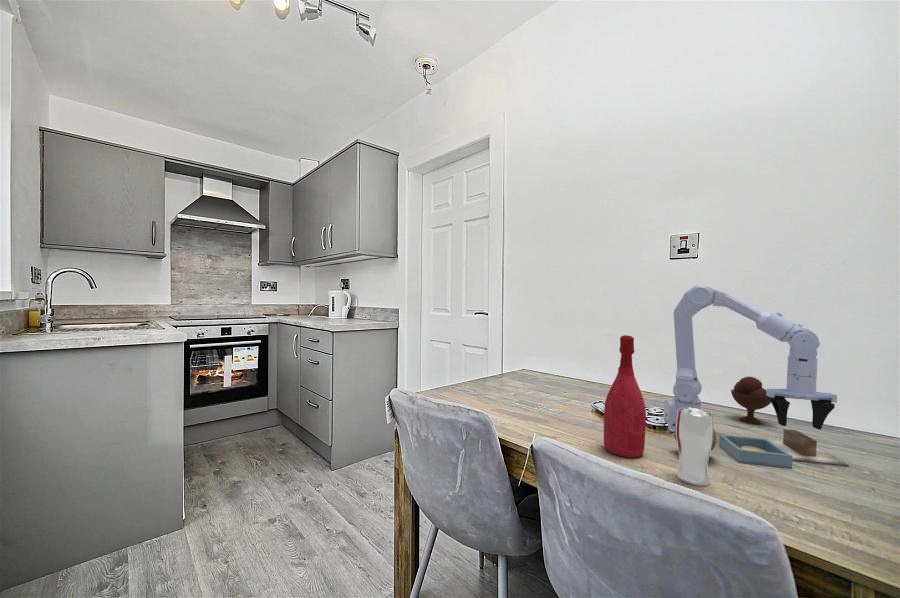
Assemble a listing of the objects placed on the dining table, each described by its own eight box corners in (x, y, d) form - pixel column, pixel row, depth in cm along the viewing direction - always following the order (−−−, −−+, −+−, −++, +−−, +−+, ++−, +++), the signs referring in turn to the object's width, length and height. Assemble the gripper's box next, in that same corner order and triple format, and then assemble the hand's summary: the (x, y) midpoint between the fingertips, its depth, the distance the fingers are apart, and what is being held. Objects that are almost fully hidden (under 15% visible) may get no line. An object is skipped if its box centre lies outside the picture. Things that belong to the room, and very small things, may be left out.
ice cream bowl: (780, 428, 120) (781, 380, 120) (739, 425, 123) (741, 378, 123) (760, 418, 131) (761, 374, 131) (723, 415, 133) (724, 372, 133)
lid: (785, 458, 96) (786, 440, 96) (759, 440, 108) (760, 425, 108) (843, 464, 94) (844, 446, 93) (810, 446, 105) (811, 429, 105)
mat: (780, 459, 97) (780, 457, 97) (755, 441, 108) (755, 440, 108) (848, 466, 93) (848, 465, 93) (815, 448, 105) (815, 446, 105)
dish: (738, 462, 94) (739, 450, 94) (719, 445, 105) (719, 434, 105) (791, 468, 92) (792, 455, 91) (766, 450, 102) (766, 439, 102)
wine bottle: (627, 462, 93) (631, 338, 92) (594, 447, 101) (598, 334, 101) (653, 455, 97) (657, 337, 97) (620, 441, 106) (623, 333, 105)
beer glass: (667, 472, 88) (669, 406, 88) (696, 471, 88) (698, 406, 88) (688, 487, 81) (691, 416, 81) (719, 487, 81) (722, 416, 81)
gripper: (777, 375, 98) (775, 428, 99) (847, 380, 95) (844, 435, 95) (762, 370, 105) (760, 419, 106) (826, 374, 102) (824, 425, 102)
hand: (799, 426), depth 101 cm, fingers open, 7 cm apart
